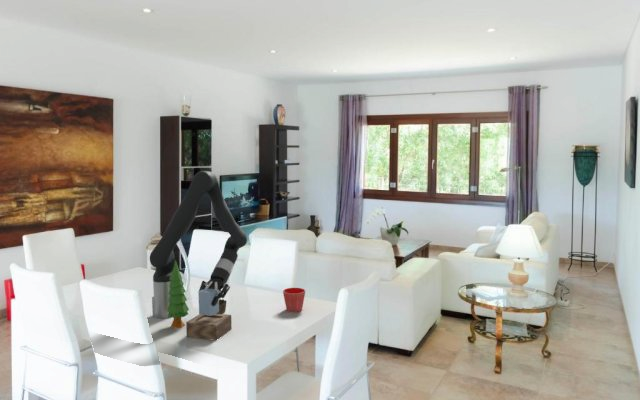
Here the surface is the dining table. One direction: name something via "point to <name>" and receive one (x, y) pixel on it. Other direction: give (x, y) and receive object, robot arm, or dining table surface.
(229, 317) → the square wooden tray
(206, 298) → the blue-grey square-topped block
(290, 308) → the flower pot
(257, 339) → the dining table surface
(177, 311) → the decorative tree
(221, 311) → the cup
